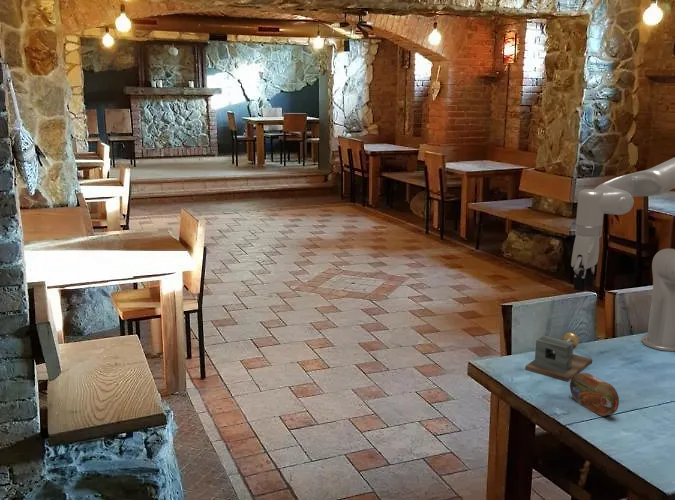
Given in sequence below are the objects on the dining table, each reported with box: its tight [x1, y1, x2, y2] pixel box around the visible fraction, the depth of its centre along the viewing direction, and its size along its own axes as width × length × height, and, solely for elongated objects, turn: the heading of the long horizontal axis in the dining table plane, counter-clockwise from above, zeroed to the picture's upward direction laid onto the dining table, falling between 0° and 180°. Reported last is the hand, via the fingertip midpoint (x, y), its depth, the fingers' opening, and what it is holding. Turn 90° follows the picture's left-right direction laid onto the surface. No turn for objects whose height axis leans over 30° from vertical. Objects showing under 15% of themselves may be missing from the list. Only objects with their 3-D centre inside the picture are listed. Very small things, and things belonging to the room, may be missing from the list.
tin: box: [569, 372, 620, 417], centre depth 176 cm, size 15×3×8 cm, turn 23°
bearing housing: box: [524, 335, 593, 383], centre depth 202 cm, size 18×13×9 cm
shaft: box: [549, 331, 580, 356], centre depth 203 cm, size 13×5×5 cm, turn 139°
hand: (583, 287), depth 208 cm, fingers open, 5 cm apart
